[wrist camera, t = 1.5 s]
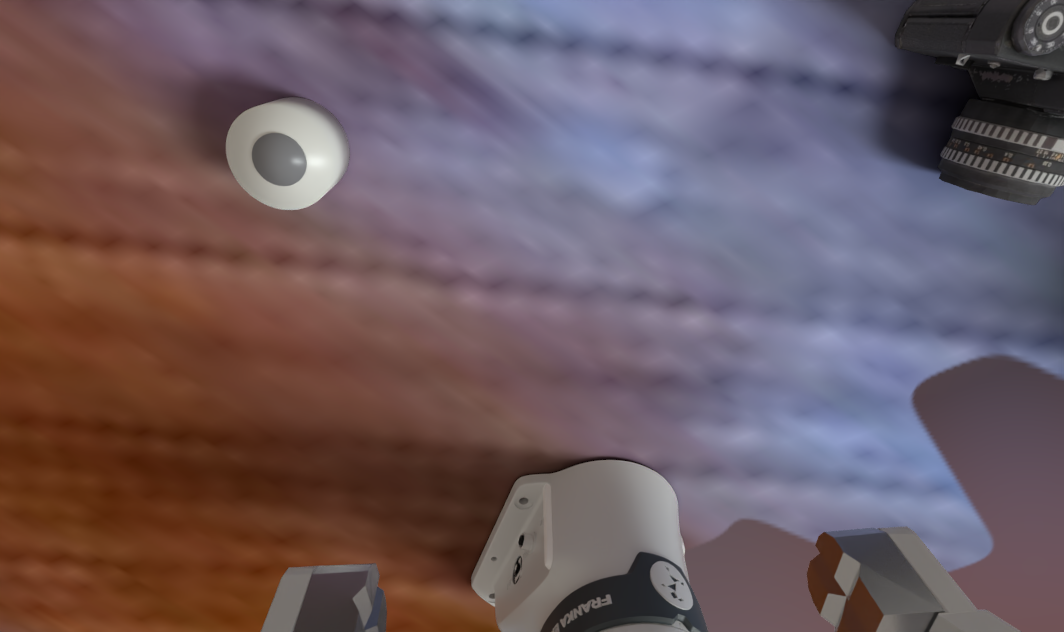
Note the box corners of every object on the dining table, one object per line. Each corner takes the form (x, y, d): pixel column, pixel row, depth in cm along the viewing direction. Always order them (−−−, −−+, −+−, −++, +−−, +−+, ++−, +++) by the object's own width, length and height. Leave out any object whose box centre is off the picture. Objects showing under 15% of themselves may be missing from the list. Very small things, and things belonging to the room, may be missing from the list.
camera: (839, 160, 37) (943, 200, 29) (916, -25, 32) (1070, -45, 24) (1023, 192, 39) (1175, 239, 30) (1123, 21, 34) (1338, 18, 25)
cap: (329, 208, 37) (310, 228, 34) (241, 163, 36) (210, 178, 32) (364, 129, 35) (348, 141, 31) (272, 77, 33) (243, 83, 30)
